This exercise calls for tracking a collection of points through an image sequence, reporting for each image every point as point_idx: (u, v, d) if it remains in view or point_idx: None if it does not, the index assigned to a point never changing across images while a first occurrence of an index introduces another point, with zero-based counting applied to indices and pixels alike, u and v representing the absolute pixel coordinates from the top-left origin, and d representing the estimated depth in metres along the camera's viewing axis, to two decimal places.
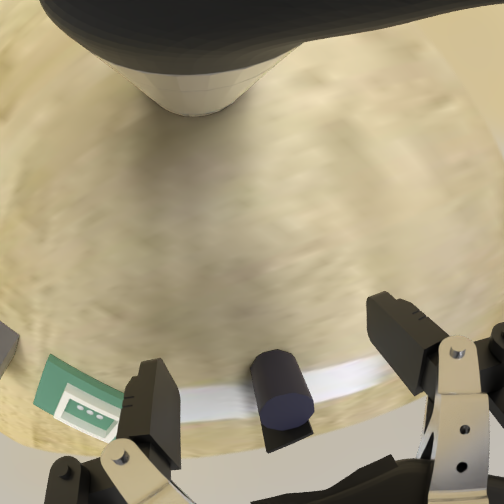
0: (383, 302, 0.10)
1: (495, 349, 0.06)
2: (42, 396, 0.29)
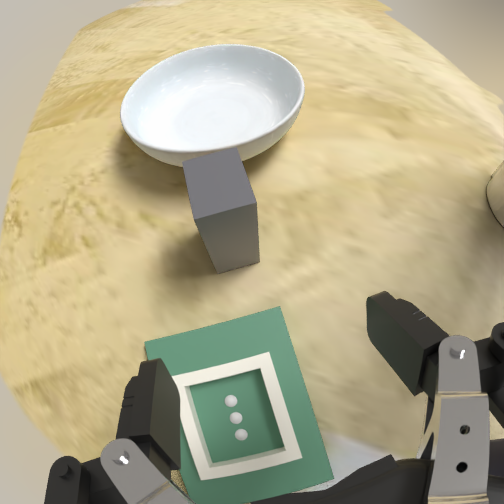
0: (383, 302, 0.10)
1: (495, 349, 0.06)
2: (185, 344, 0.24)
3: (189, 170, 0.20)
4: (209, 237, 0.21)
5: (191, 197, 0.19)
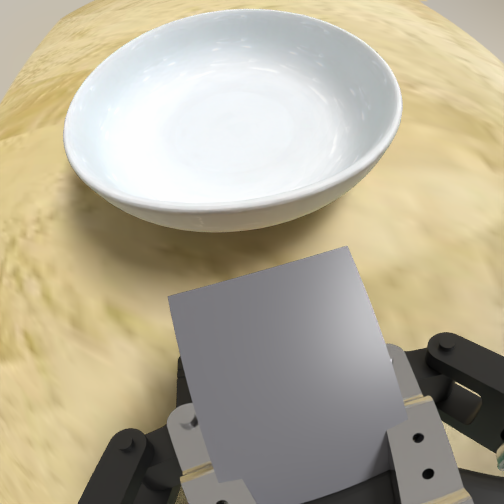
0: None
1: (436, 365, 0.07)
2: None
3: (196, 339, 0.06)
4: None
5: (214, 450, 0.05)
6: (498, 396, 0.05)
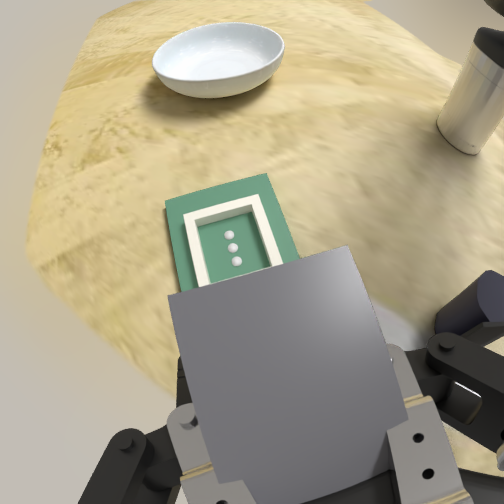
0: None
1: (436, 364, 0.07)
2: (196, 199, 0.33)
3: (195, 339, 0.06)
4: None
5: (214, 450, 0.05)
6: (498, 396, 0.05)
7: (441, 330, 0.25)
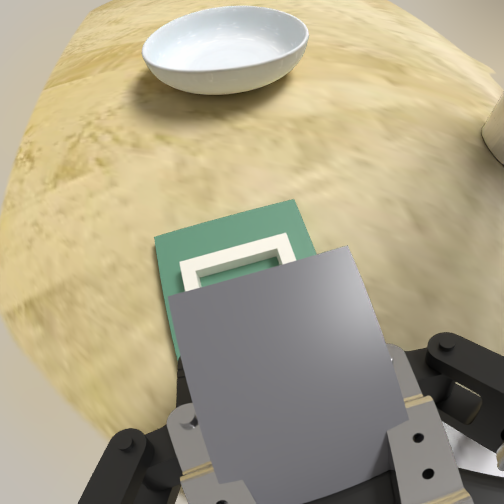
0: None
1: (436, 364, 0.07)
2: (197, 235, 0.24)
3: (196, 339, 0.06)
4: None
5: (215, 451, 0.05)
6: (498, 396, 0.05)
7: None
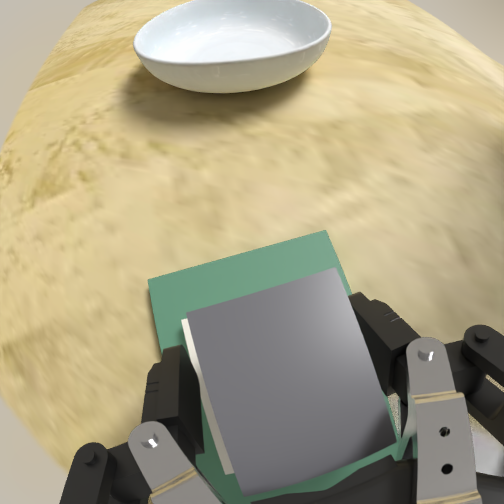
0: (356, 303, 0.10)
1: (469, 354, 0.06)
2: (203, 279, 0.18)
3: (211, 348, 0.07)
4: None
5: (228, 439, 0.06)
6: None
7: None
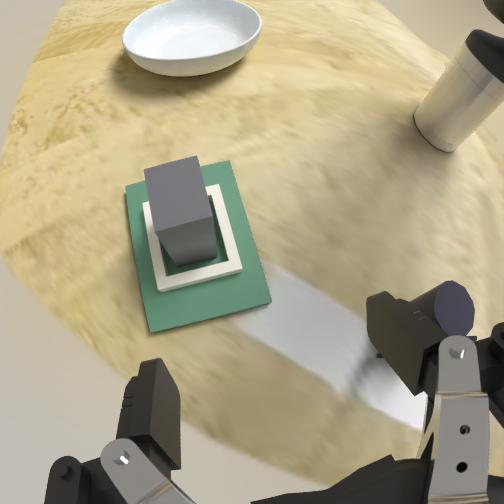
0: (383, 302, 0.10)
1: (495, 349, 0.06)
2: None
3: (150, 179, 0.20)
4: (169, 242, 0.22)
5: (152, 208, 0.19)
6: None
7: None
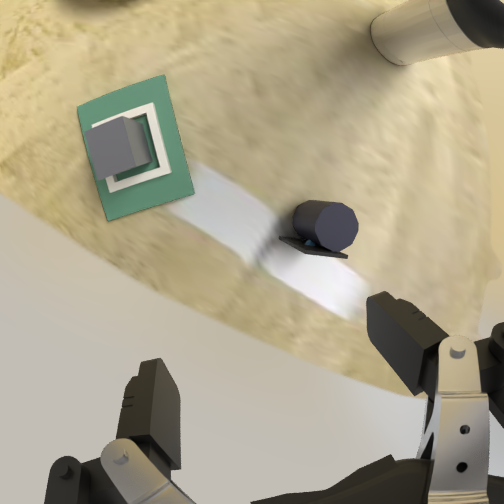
0: (383, 302, 0.10)
1: (495, 349, 0.06)
2: (102, 103, 0.30)
3: (90, 140, 0.23)
4: None
5: (94, 163, 0.24)
6: None
7: (295, 223, 0.40)
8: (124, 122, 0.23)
